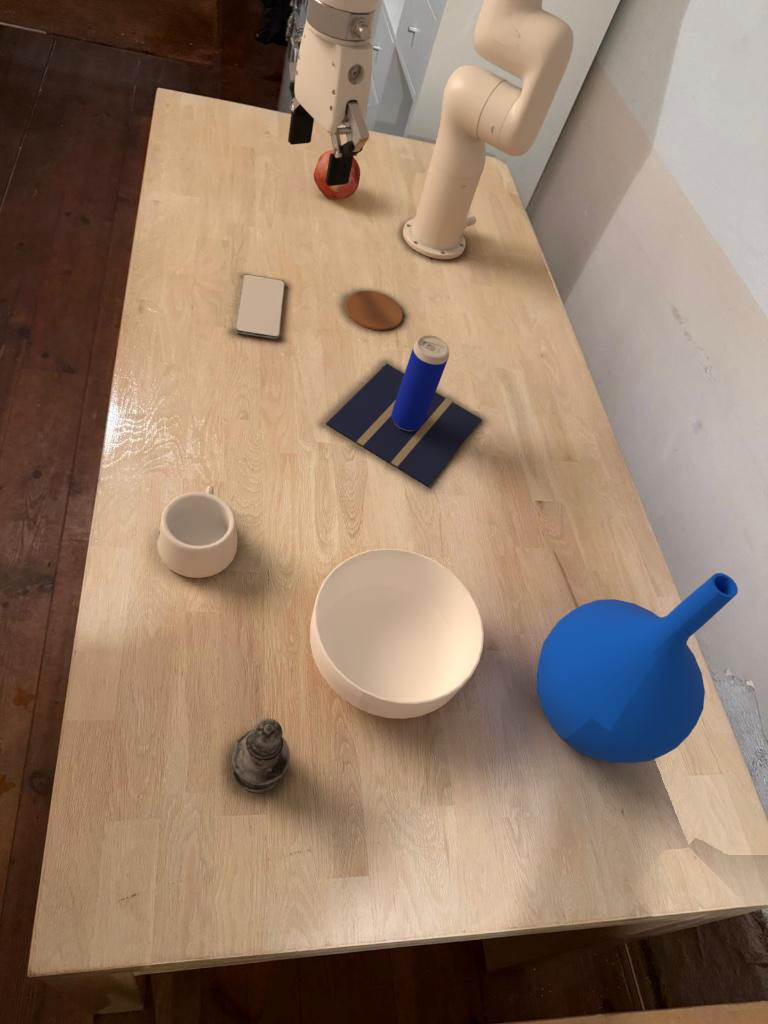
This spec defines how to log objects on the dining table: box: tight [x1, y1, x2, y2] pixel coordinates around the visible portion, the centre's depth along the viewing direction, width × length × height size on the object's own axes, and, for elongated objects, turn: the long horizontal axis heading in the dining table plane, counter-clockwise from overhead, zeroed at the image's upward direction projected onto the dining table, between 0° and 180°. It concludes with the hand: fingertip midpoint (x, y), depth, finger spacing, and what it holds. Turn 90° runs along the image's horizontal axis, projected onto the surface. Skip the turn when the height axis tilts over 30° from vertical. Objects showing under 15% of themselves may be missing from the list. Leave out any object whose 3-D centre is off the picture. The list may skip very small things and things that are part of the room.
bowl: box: [309, 547, 485, 720], centre depth 87 cm, size 20×20×8 cm
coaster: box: [345, 290, 403, 331], centre depth 129 cm, size 10×10×1 cm
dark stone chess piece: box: [231, 717, 291, 794], centre depth 74 cm, size 6×6×12 cm
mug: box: [156, 485, 239, 579], centre depth 91 cm, size 12×10×6 cm
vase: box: [536, 572, 739, 764], centre depth 80 cm, size 18×18×30 cm
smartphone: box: [234, 273, 286, 340], centre depth 122 cm, size 7×1×15 cm
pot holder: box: [325, 363, 482, 488], centre depth 114 cm, size 18×18×1 cm
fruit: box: [313, 149, 361, 200], centre depth 145 cm, size 9×10×10 cm
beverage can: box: [391, 334, 450, 431], centre depth 108 cm, size 5×5×15 cm
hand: (317, 162), depth 96 cm, fingers open, 9 cm apart
